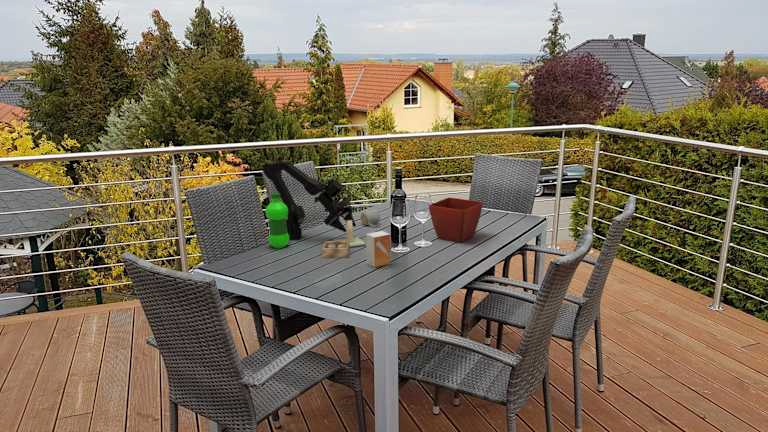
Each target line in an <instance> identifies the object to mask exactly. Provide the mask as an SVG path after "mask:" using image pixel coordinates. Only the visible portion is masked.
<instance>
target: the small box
mask: <svg viewBox="0 0 768 432" xmlns="http://www.w3.org/2000/svg"><path fill="white" fill-rule="evenodd" d="M365 236H366V237H365V239H366V240H365V241H366V242H365V243H366V245H365V246H366V264H367V265H370V266H371V267H373V268H378V267H382V266H386V265H390V264H391V262H392V261H391V233H388V232H386V231H384V230H380V231H375V232H374V231H373V232H370V233H366V234H365Z"/></svg>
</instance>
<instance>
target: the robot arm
mask: <svg viewBox="0 0 768 432" xmlns="http://www.w3.org/2000/svg"><path fill="white" fill-rule="evenodd" d="M282 171H284V172H285V173H287V174H288V175H290V177H292V178H293V179H295V180H296V181H297V182H298V183H300V184H301V185H302V186H303V188H304V190H305V191H306V192H307V193H308V194H309V195H310V196H314V201H313V202H314V203H320V204H321V205H322V206H323V208H324V212H327V213H328V215H327V216H326V217H325V218H324V221H323V223H324V224H325V226H329V227H332V228H335V229H337V230H339V231H341V232H344V233H346V226H344V224H343V223H342V222H341V219H340V218H342V220H344V221H345V222H346V220H352V227H354V228H355V227H356V226H357V224H356V222H355V220H354V216H353V212H354V207H353V206H352V205H351V199H350V198H349V197H348V196H345V197H343V198H342V200H341V201H340V200H339V201H338V200H335V199H334V198H336V197H337V196H338V195H339V194H340V192H342V191H343V190H344V185H343V183H341V182H339V181H337V180H335V179H334V178H331V179H330V180H329V181H328V183H327V184H325V183H323V182H321V181H320V180H319V179H317V178H313V177H310V176H309V175H307V174H306V173H305V172H303V171H302V170H301V169H300V168H298V167H297V166H295V164H293V163H292V162H291V161H290V160H285V161H281V162H277V161H270V162H267V163H264V164H263V165H262V173H263V174H264V175H265V177H266V178H267V179H268V180H270V181H271V182H272V184H273V185H274V188H275V190H276V191H277V193H280V199H281V202H282V203H284V204H285V205H286V206H287V208H288V216H287V217H286V227H287V233H288V234H289V240H300V239H301V238H302V237H303V228H302V226H301V225H302V224H303V223H304V220H305V218H306V214H305V213H306V211H305V210H304V209H303V205H302V204H301V205H298V204H297V203H295V200H294V199H293V196H292V194H291V192H290V191H289V189H288V187H287V184H286V182H285V181H284V179H283V176H282V174H283V173H282Z"/></svg>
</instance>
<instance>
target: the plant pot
mask: <svg viewBox="0 0 768 432" xmlns="http://www.w3.org/2000/svg"><path fill="white" fill-rule="evenodd" d="M483 204H484V203H483V201H477V200H471V199H463V198H457V197H447V198H444V199H442V200H439V201H436V202H433V203H430V204H428V209H429V214H430V218H431V223H432V225H433V228H434V232H435V233H436V236H437V238H438V239H440V240H445V241H450V242H454V243H460V244H461V243H463V242H464V241H468V240H469V239H470V238H473V237H474V235H475V233H476V231H477V227H478V226H479V222H480V218H481V214H482V210H483Z"/></svg>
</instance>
